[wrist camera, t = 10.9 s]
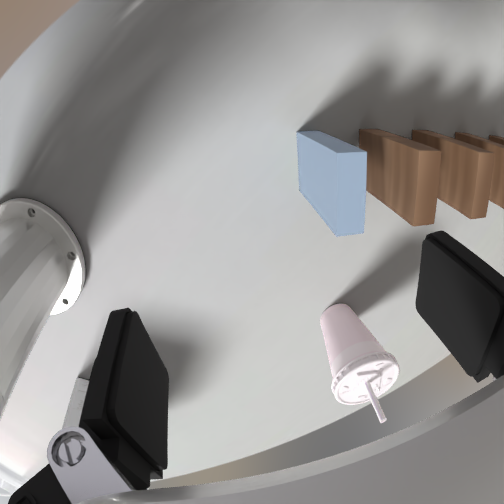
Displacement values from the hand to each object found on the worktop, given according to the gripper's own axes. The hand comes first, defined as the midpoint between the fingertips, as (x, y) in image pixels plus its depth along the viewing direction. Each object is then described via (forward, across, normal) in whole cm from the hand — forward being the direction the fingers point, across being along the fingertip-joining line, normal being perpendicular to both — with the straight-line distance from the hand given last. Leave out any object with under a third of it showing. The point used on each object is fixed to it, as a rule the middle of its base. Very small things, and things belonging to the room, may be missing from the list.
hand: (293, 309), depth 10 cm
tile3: (+17, -17, +1) cm, 24 cm away
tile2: (+17, -12, +1) cm, 21 cm away
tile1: (+18, -6, 0) cm, 19 cm away
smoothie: (+18, -8, +17) cm, 26 cm away
